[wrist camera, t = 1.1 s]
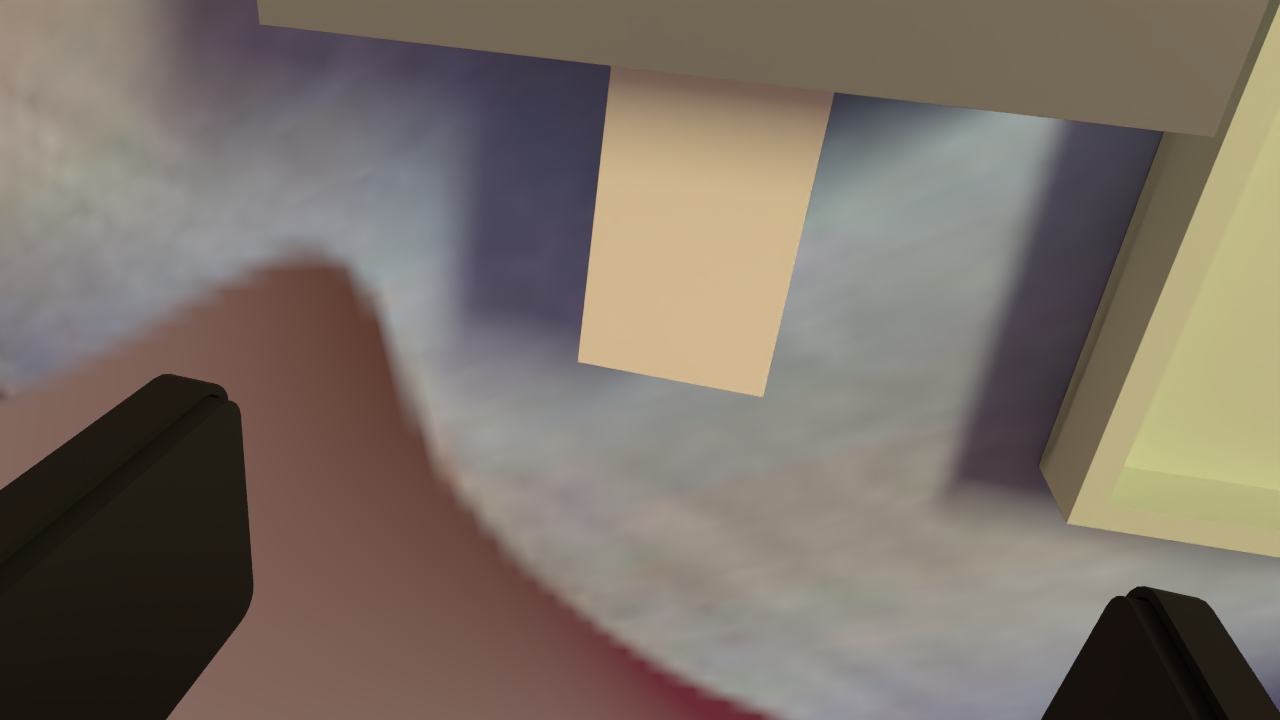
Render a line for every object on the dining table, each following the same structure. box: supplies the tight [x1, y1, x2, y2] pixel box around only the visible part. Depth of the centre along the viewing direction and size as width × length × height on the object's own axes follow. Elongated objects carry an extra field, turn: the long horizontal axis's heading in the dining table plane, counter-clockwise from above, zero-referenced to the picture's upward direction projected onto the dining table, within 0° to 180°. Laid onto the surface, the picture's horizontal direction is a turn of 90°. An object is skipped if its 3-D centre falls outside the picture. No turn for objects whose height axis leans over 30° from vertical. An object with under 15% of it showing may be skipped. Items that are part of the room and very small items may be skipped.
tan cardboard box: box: [578, 66, 835, 397], centre depth 25 cm, size 15×6×7 cm, turn 172°
